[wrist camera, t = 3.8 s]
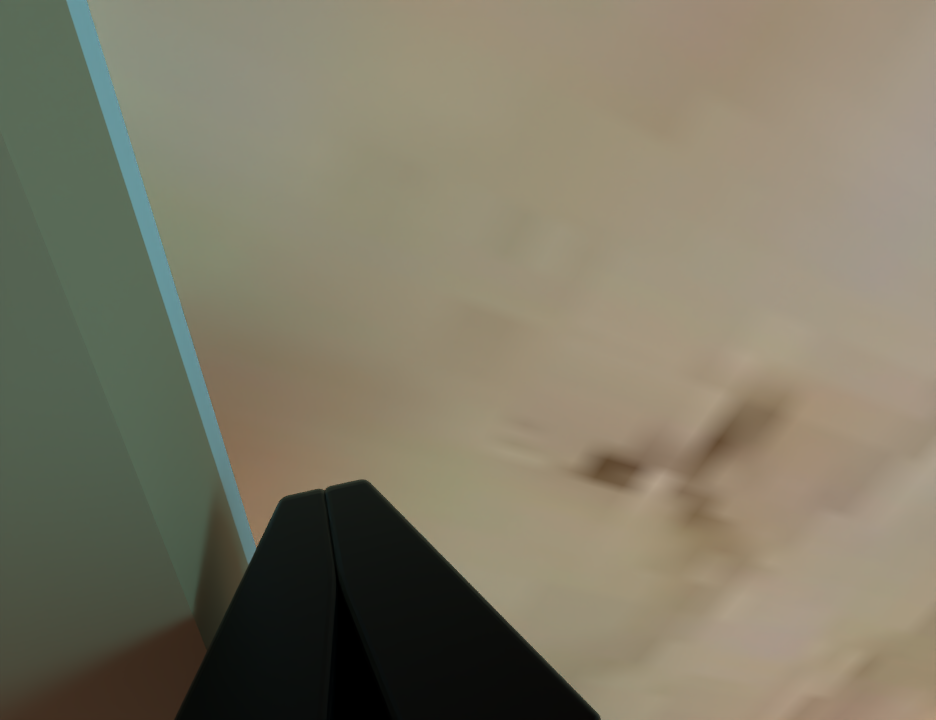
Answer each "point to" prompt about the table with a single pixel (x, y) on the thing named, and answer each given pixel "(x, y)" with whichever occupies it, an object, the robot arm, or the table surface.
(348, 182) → the table surface
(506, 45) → the table surface
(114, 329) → the lid
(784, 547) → the table surface
